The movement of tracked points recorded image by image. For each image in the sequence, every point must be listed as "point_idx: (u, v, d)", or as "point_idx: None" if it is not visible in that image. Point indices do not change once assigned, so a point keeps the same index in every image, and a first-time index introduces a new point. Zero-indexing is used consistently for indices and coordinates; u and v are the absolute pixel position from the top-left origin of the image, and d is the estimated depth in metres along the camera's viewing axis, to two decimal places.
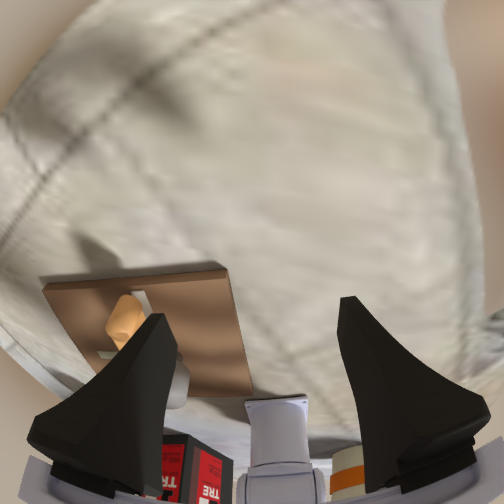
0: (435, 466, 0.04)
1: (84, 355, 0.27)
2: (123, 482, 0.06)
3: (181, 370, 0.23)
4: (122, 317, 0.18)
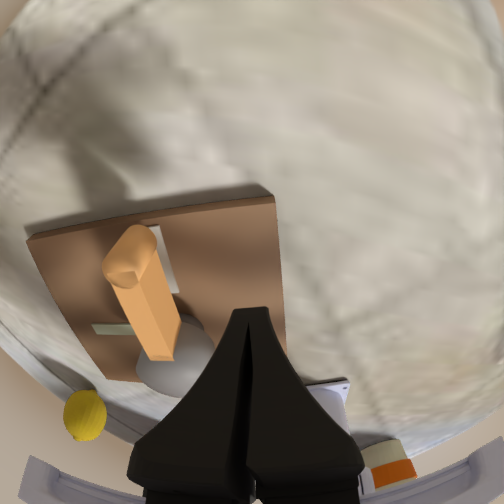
0: (302, 499, 0.05)
1: (75, 331, 0.22)
2: (242, 497, 0.05)
3: (205, 342, 0.18)
4: (129, 248, 0.13)
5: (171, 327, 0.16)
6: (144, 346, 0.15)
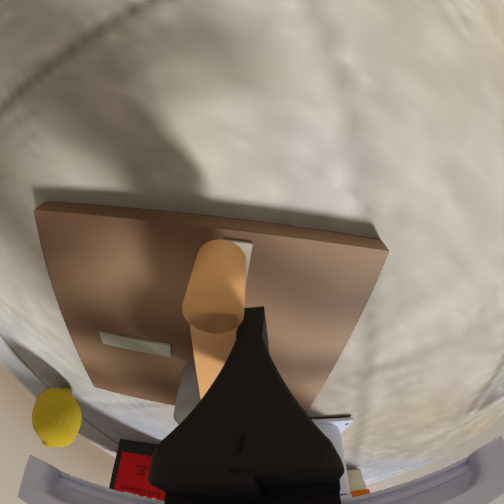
0: (283, 501, 0.05)
1: (72, 333, 0.17)
2: None
3: None
4: (230, 279, 0.09)
5: None
6: (202, 393, 0.12)
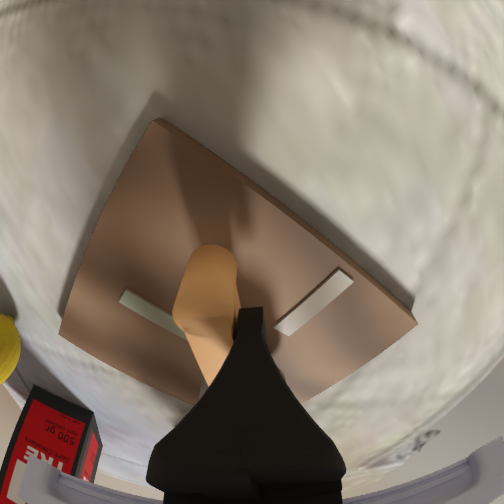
0: (284, 501, 0.05)
1: (81, 275, 0.14)
2: None
3: None
4: (214, 283, 0.09)
5: None
6: None
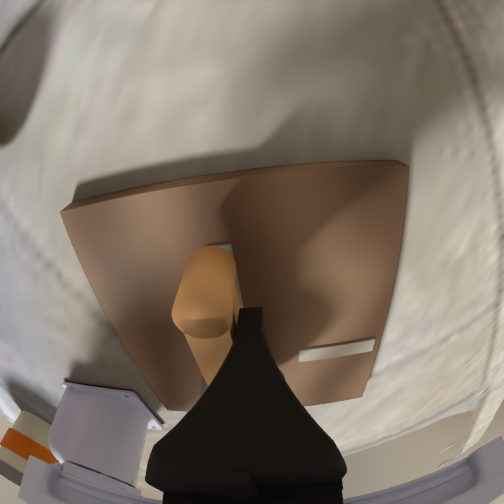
0: (285, 501, 0.05)
1: (194, 191, 0.12)
2: None
3: None
4: (213, 284, 0.09)
5: None
6: None
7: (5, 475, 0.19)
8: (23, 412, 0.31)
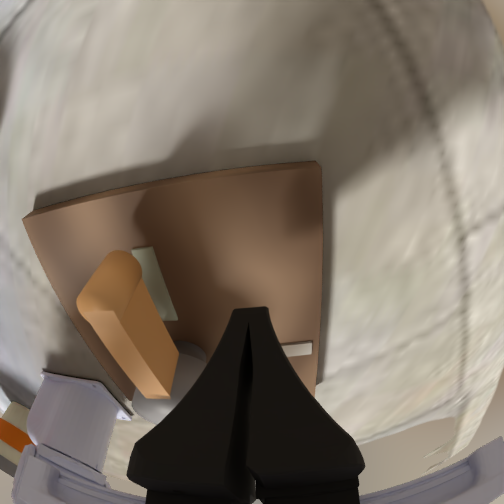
0: (302, 500, 0.05)
1: (117, 201, 0.13)
2: (242, 497, 0.05)
3: None
4: (105, 283, 0.10)
5: (166, 363, 0.14)
6: (137, 385, 0.13)
7: None
8: (12, 403, 0.32)
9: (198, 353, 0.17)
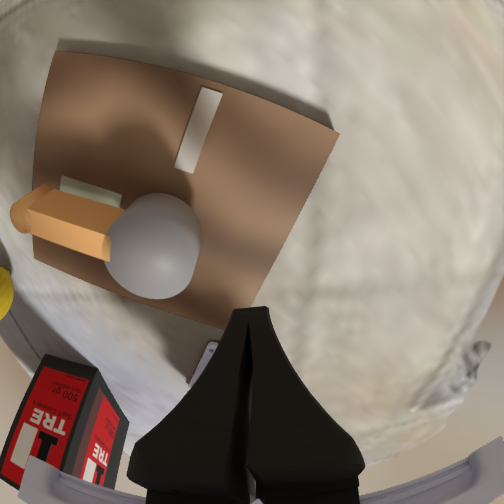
0: (302, 499, 0.05)
1: (35, 181, 0.16)
2: (242, 497, 0.05)
3: (144, 198, 0.14)
4: None
5: (98, 217, 0.14)
6: (88, 253, 0.14)
7: None
8: None
9: None
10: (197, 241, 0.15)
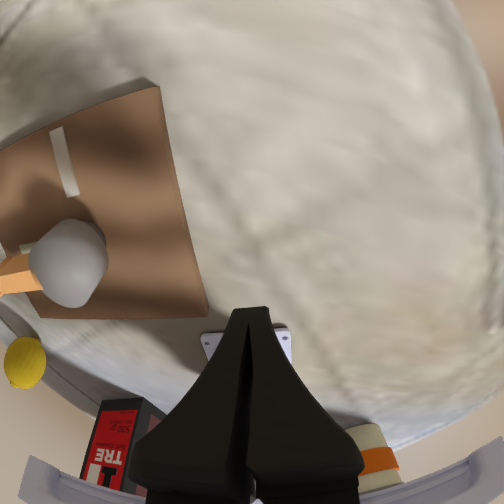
0: (302, 500, 0.05)
1: None
2: (242, 497, 0.05)
3: None
4: None
5: None
6: (32, 289, 0.15)
7: None
8: None
9: None
10: (86, 244, 0.15)
